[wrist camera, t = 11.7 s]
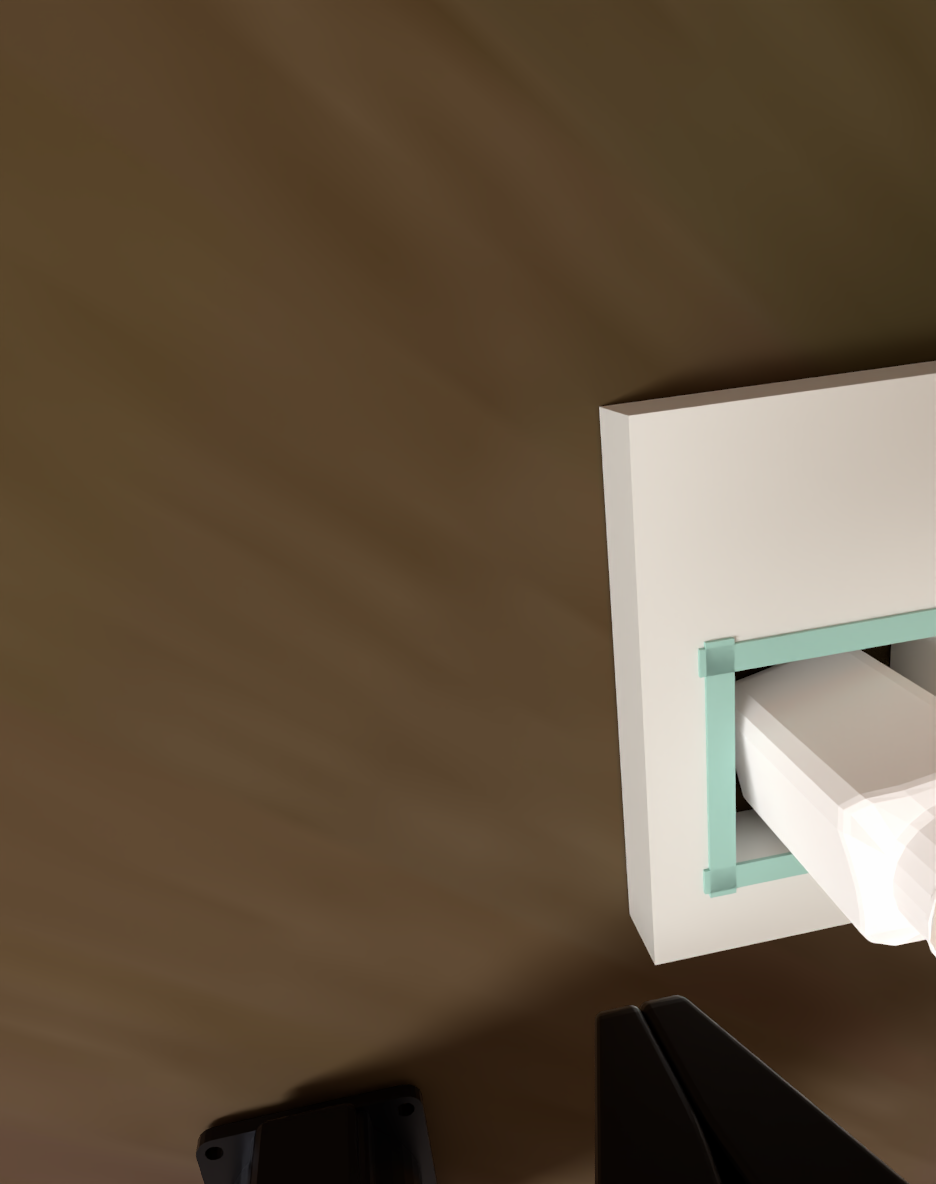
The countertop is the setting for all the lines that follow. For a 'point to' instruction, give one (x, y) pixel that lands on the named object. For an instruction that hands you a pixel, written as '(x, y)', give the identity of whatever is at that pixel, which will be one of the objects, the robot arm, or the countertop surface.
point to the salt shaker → (847, 784)
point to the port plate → (752, 615)
